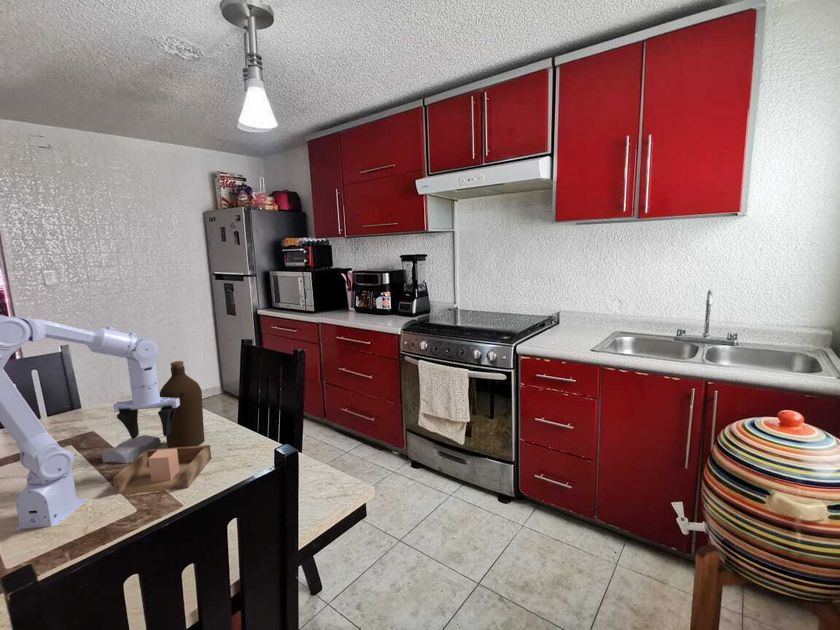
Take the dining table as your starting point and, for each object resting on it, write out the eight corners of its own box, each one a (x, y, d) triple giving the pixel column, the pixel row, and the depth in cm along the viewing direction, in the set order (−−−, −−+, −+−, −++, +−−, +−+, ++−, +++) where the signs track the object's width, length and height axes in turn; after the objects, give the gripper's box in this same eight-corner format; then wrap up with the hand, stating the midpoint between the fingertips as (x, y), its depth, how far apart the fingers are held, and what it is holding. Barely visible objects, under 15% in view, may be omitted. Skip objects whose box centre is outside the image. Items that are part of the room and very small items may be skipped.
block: (171, 480, 100) (168, 457, 99) (151, 481, 99) (148, 458, 99) (179, 470, 104) (176, 448, 103) (160, 472, 104) (157, 449, 103)
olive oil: (215, 440, 122) (206, 359, 119) (182, 456, 113) (171, 369, 109) (190, 434, 127) (181, 356, 123) (157, 450, 117) (146, 365, 113)
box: (188, 490, 96) (186, 472, 96) (115, 496, 95) (112, 478, 94) (211, 460, 110) (209, 445, 110) (148, 465, 109) (146, 449, 108)
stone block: (99, 470, 111) (128, 466, 108) (94, 453, 110) (124, 448, 108) (137, 451, 122) (165, 446, 120) (133, 435, 122) (160, 431, 120)
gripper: (182, 377, 107) (188, 426, 109) (122, 381, 105) (129, 431, 107) (169, 386, 100) (176, 438, 102) (105, 390, 99) (113, 443, 101)
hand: (151, 435), depth 104 cm, fingers open, 7 cm apart
